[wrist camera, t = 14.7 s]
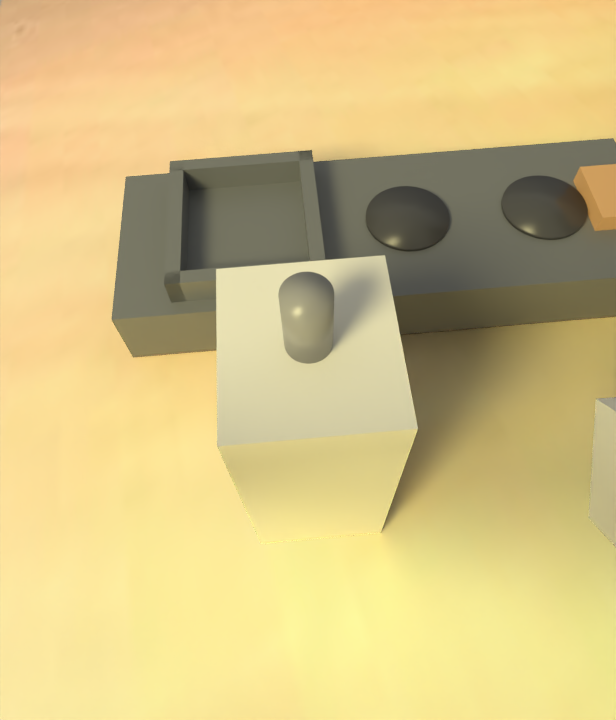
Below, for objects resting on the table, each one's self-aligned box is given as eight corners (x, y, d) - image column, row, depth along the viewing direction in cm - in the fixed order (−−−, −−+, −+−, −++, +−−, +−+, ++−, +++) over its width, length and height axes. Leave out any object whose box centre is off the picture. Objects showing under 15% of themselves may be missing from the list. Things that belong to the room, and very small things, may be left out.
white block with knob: (363, 411, 24) (392, 200, 14) (380, 532, 22) (432, 388, 11) (255, 420, 24) (202, 215, 14) (260, 543, 22) (200, 408, 11)
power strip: (588, 186, 30) (624, 116, 26) (645, 313, 26) (697, 253, 22) (143, 221, 30) (117, 156, 26) (133, 357, 26) (101, 302, 22)
